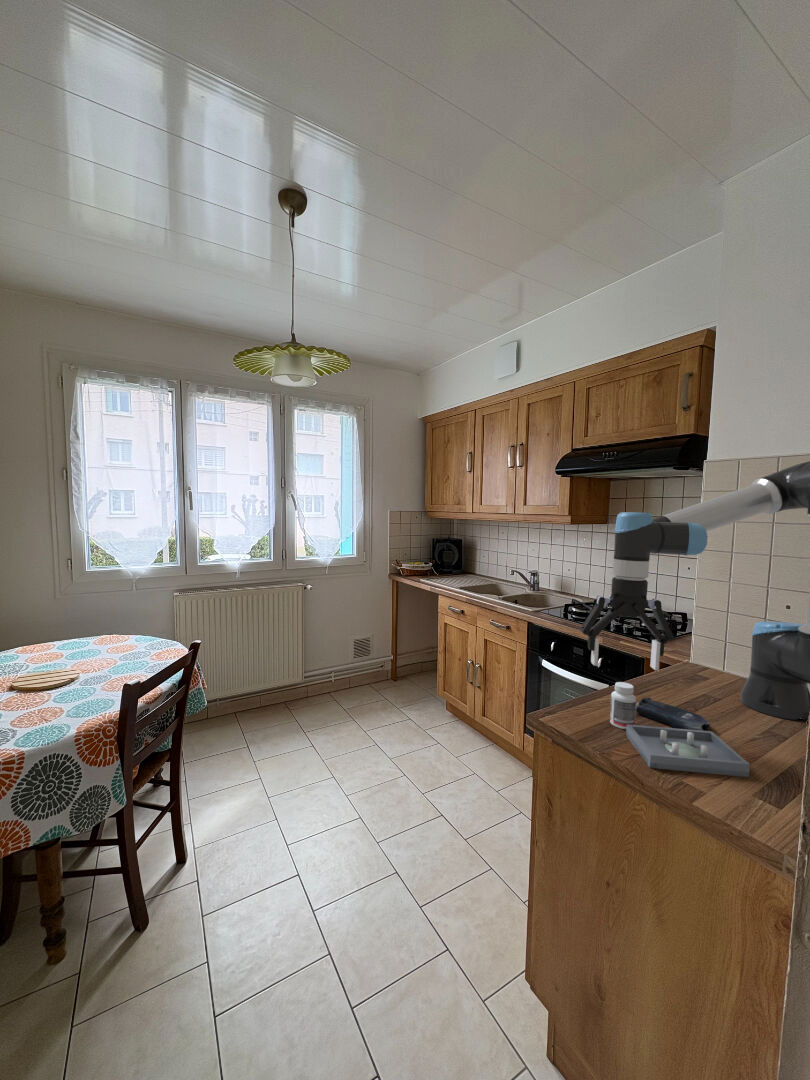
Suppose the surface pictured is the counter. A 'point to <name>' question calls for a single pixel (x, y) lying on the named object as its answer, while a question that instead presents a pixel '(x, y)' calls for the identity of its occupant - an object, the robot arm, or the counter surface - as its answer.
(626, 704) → the pill bottle
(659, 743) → the tray
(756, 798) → the counter surface
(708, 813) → the counter surface
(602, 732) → the counter surface
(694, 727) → the electronic device
